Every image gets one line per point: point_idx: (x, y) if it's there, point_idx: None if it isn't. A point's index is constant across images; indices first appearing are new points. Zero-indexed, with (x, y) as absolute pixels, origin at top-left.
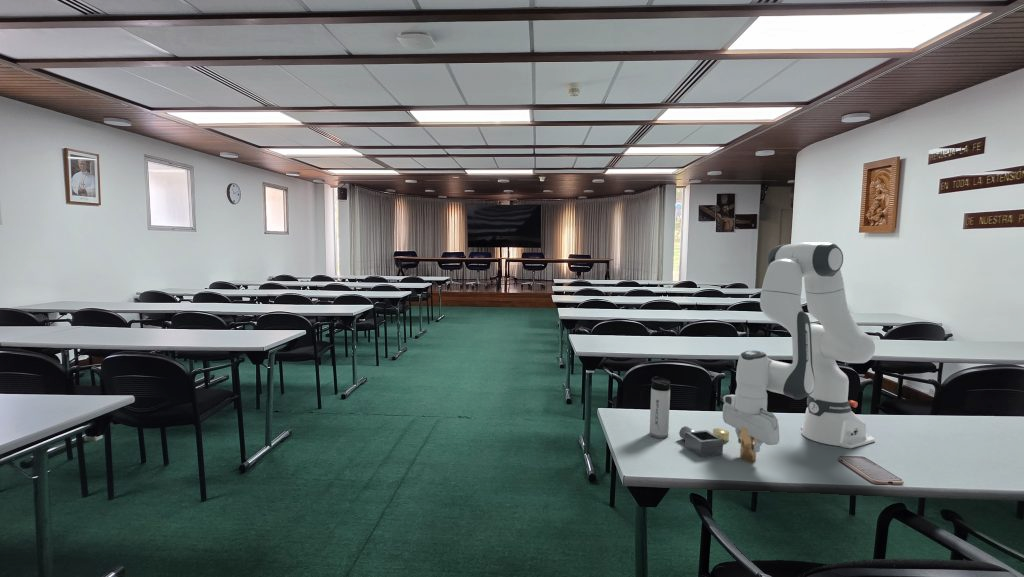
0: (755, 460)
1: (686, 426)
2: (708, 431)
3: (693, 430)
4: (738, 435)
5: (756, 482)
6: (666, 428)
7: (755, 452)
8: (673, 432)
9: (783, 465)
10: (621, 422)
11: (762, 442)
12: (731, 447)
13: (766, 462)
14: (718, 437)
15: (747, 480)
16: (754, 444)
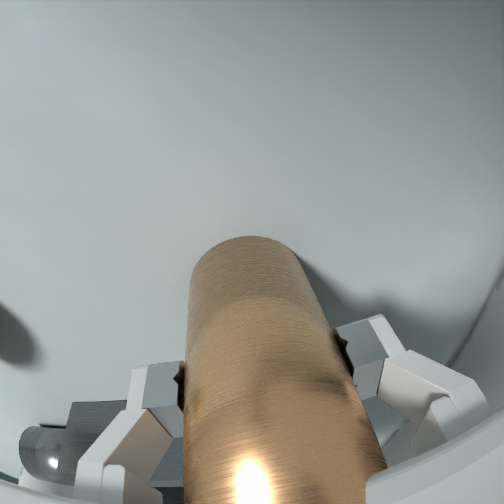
0: (289, 250)
1: (30, 474)
2: (73, 476)
3: (64, 479)
4: (159, 460)
5: (468, 339)
6: (65, 492)
7: (317, 302)
8: (4, 427)
9: (393, 70)
10: (15, 471)
11: (468, 385)
12: (55, 306)
13: (329, 175)
14: (160, 482)
15: (445, 363)
16: (397, 408)
